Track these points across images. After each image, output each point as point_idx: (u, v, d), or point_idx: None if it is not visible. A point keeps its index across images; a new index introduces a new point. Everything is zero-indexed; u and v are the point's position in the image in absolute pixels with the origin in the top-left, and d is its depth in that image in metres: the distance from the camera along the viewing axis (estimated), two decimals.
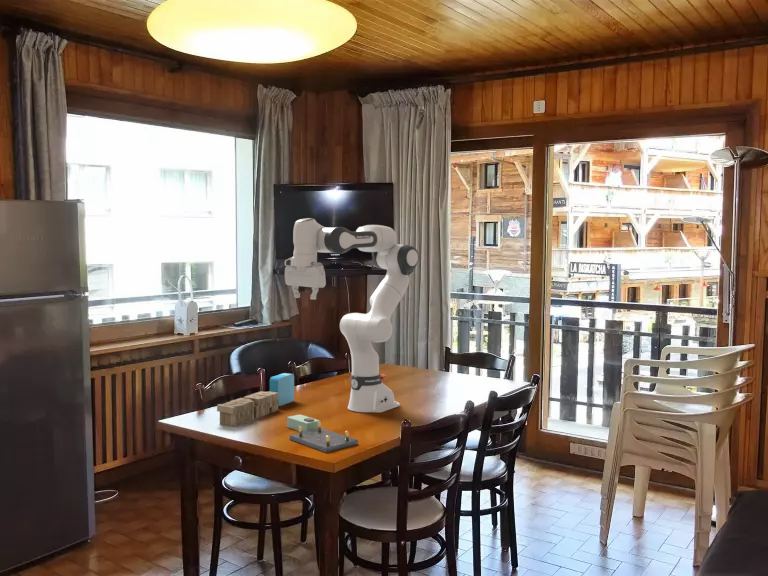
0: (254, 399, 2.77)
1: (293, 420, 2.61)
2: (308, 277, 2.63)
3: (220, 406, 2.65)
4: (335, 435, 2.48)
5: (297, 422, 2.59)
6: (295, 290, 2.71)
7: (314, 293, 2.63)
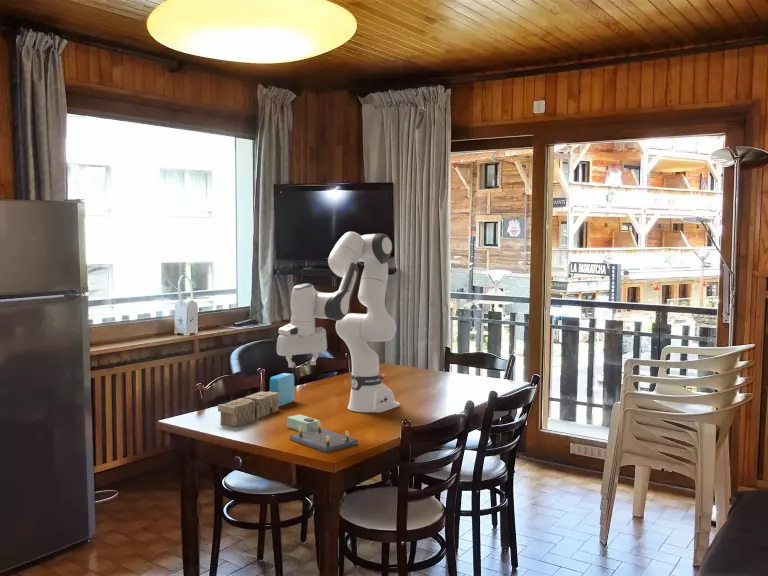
0: (255, 399, 2.77)
1: (293, 420, 2.61)
2: (314, 343, 2.62)
3: (221, 406, 2.65)
4: (335, 435, 2.48)
5: (297, 422, 2.59)
6: None
7: None
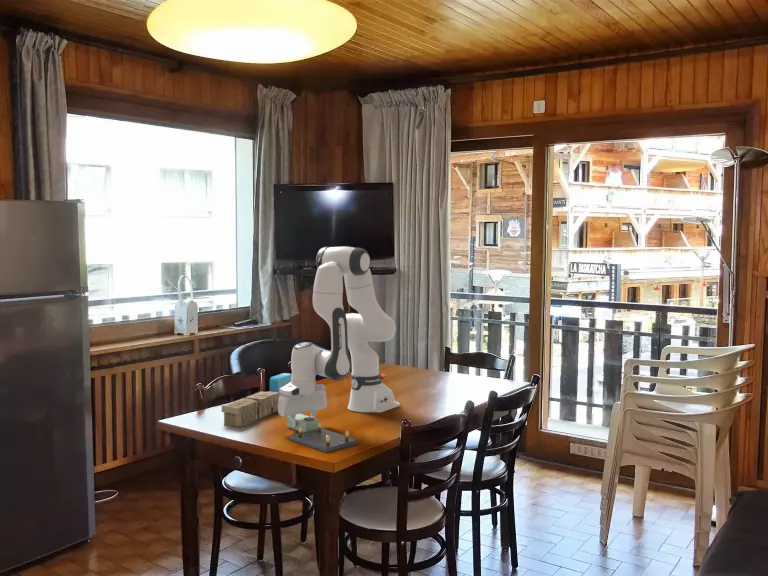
0: (257, 399, 2.77)
1: None
2: (315, 401, 2.63)
3: (225, 407, 2.64)
4: (335, 435, 2.48)
5: None
6: None
7: None
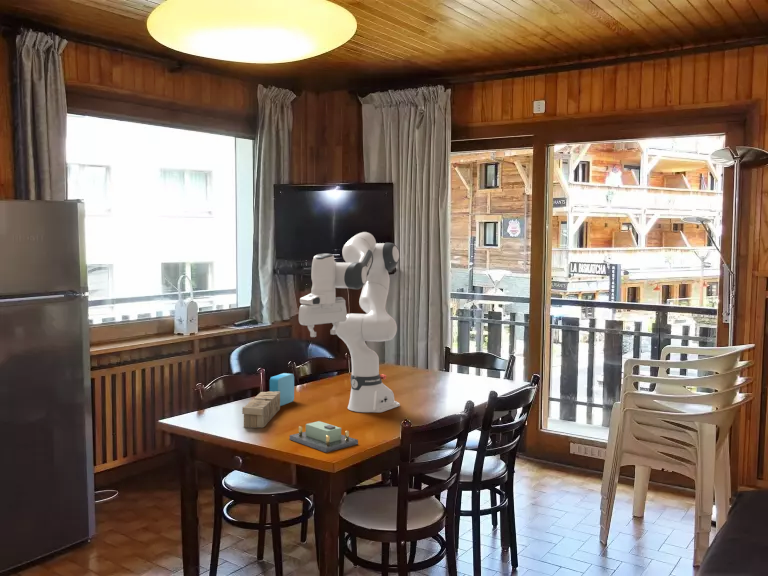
0: (267, 399, 2.77)
1: (312, 427, 2.45)
2: (335, 313, 2.63)
3: (246, 408, 2.62)
4: None
5: (317, 430, 2.43)
6: None
7: None
